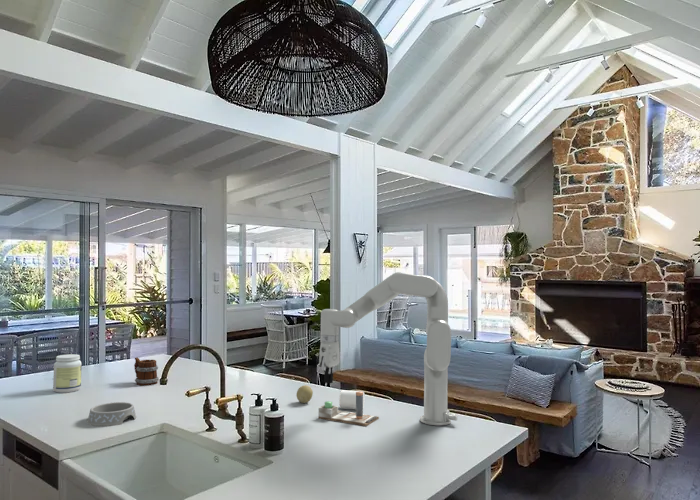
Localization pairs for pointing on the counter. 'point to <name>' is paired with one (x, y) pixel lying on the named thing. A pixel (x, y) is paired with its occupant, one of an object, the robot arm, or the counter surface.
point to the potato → (304, 394)
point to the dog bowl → (110, 414)
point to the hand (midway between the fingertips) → (328, 382)
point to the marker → (359, 405)
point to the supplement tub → (67, 373)
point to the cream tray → (344, 416)
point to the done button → (328, 404)
